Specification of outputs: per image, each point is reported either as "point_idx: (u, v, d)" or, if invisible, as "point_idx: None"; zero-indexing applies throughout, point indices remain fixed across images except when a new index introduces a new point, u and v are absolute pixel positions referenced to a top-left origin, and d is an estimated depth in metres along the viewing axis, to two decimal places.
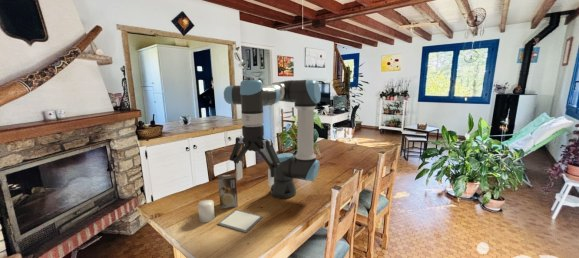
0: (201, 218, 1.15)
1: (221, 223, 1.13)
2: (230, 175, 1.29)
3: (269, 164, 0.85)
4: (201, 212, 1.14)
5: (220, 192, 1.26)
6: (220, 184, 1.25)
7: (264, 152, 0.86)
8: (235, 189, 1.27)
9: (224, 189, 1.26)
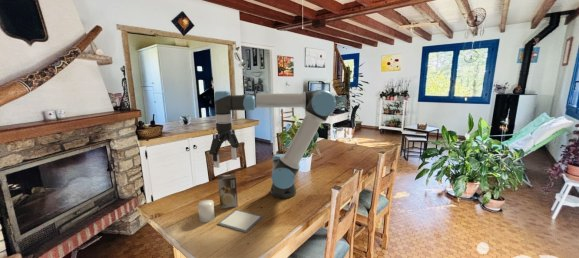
0: (201, 218, 1.15)
1: (221, 223, 1.13)
2: (230, 175, 1.29)
3: None
4: (201, 212, 1.14)
5: (220, 192, 1.26)
6: (220, 184, 1.25)
7: (218, 142, 1.21)
8: (235, 189, 1.27)
9: (224, 189, 1.26)
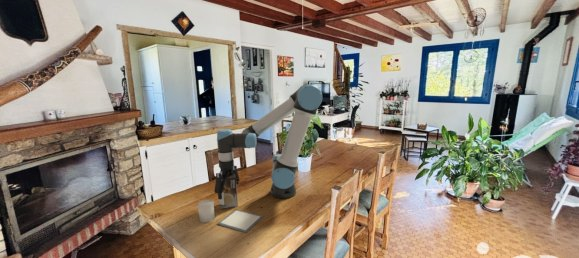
0: (201, 218, 1.15)
1: (221, 223, 1.13)
2: None
3: None
4: (201, 212, 1.14)
5: None
6: None
7: None
8: (235, 189, 1.27)
9: (224, 189, 1.26)
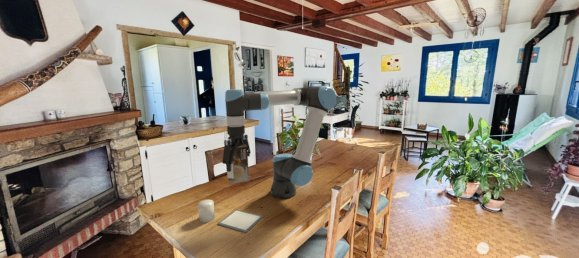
0: (201, 218, 1.15)
1: (221, 223, 1.13)
2: (240, 145, 1.10)
3: None
4: (201, 212, 1.14)
5: None
6: None
7: None
8: (246, 161, 1.08)
9: (233, 161, 1.07)
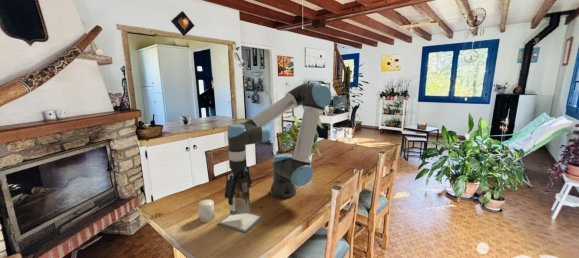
0: (201, 218, 1.15)
1: (221, 223, 1.13)
2: (242, 177, 1.13)
3: None
4: (201, 212, 1.14)
5: None
6: None
7: None
8: (247, 193, 1.11)
9: (235, 194, 1.10)
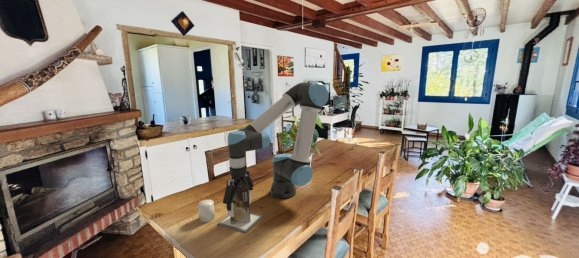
0: (201, 218, 1.15)
1: (221, 223, 1.13)
2: (242, 186, 1.14)
3: None
4: (201, 212, 1.14)
5: None
6: None
7: (232, 189, 1.09)
8: (248, 202, 1.12)
9: (235, 203, 1.10)
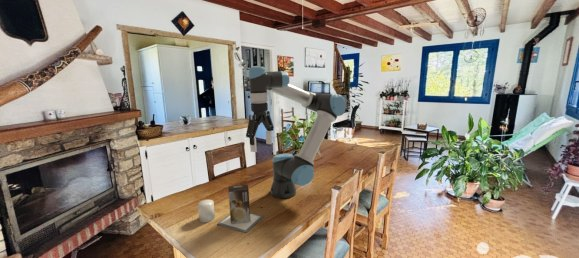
0: (201, 218, 1.15)
1: (221, 223, 1.13)
2: (242, 186, 1.14)
3: None
4: (201, 212, 1.14)
5: (231, 206, 1.10)
6: (231, 197, 1.09)
7: (254, 124, 1.09)
8: (248, 202, 1.12)
9: (235, 203, 1.10)
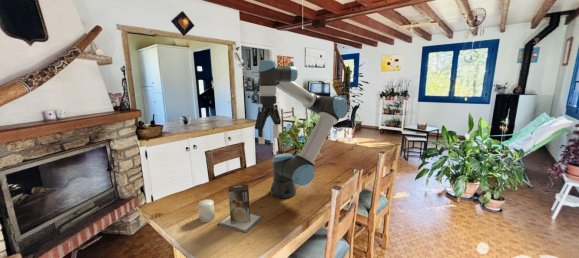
0: (201, 218, 1.15)
1: (221, 223, 1.13)
2: (242, 186, 1.14)
3: None
4: (201, 212, 1.14)
5: (231, 206, 1.10)
6: (231, 197, 1.09)
7: (262, 117, 1.11)
8: (248, 202, 1.12)
9: (235, 203, 1.10)
